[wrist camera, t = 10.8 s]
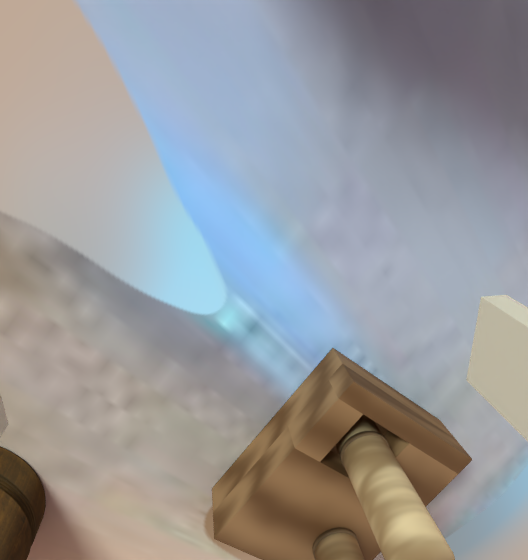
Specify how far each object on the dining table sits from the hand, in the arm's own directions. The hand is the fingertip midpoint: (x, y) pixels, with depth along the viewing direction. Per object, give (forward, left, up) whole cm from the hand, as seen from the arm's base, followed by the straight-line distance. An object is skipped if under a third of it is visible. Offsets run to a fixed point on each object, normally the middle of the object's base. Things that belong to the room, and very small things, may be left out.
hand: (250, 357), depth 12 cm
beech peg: (+10, +24, -23) cm, 34 cm away
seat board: (+15, +26, -26) cm, 39 cm away
